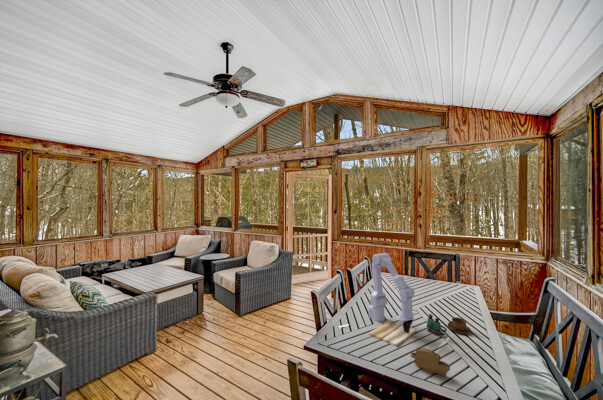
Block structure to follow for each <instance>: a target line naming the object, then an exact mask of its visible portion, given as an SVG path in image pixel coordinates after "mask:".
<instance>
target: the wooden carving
mask: <svg viewBox="0 0 603 400" xmlns="http://www.w3.org/2000/svg"><path fill="white" fill-rule="evenodd" d="M409 356H410V357H411V358H412V359H414V360H413V363H414V364H415V365H416V366H418V367H419V368H420V369H422V370H424V371H426V372H428V373H430V374H431V373H432V374H439V375H441V376H443V377H446V376H447V374H448V372H450V370H451V366H450V365H449V364H448V363H446V362H445V361H444V360H443V361H442V360H441V355H440V354H439V353H436V352H435V351H433V350H431V349H428V348H425V347H417V348H416V350H415V352H414V351H413V352H411V353H410V355H409Z"/></svg>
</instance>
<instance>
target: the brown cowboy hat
mask: <svg viewBox="0 0 603 400" xmlns="http://www.w3.org/2000/svg"><path fill="white" fill-rule="evenodd" d="M447 327H448V328H449V329H450V330H451V331H453V332H455V333H457V334H464V335H465V334H469V333H471V332H472V329H471V328H470V327H469V326H468V325H467V320H466V319H465V318H464V319H463V318H461V317H452V319H451V320H449V322H448V324H447Z"/></svg>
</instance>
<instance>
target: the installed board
mask: <svg viewBox="0 0 603 400" xmlns="http://www.w3.org/2000/svg"><path fill="white" fill-rule="evenodd" d="M401 325H402V324H401V323H399V322H396V321H394V320H391V319H388V320H387V321H385V322H384V323H382V324H381V325H379V326H378V327H376V328H375V329H373V330H371V331H370V332H368V335H369V336H371V337H374V338H376V339H378V340H380V341H381V342H384V341H383V338H385V337H386V336H388V335H389V334H390V333H392V332H393V331H395V330H396V329H397V328H399V327H400V326H401Z"/></svg>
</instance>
